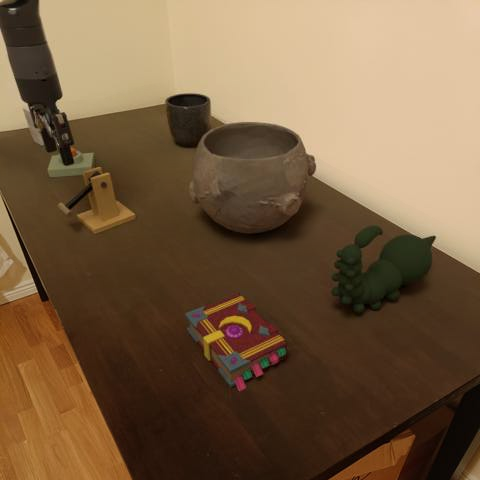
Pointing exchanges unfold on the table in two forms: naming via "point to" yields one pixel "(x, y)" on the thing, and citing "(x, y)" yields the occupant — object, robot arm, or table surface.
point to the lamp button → (73, 152)
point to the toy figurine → (380, 268)
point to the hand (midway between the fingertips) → (60, 157)
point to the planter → (188, 117)
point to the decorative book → (236, 339)
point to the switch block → (80, 165)
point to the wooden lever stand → (103, 204)
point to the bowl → (250, 175)
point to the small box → (33, 128)
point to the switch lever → (77, 198)
